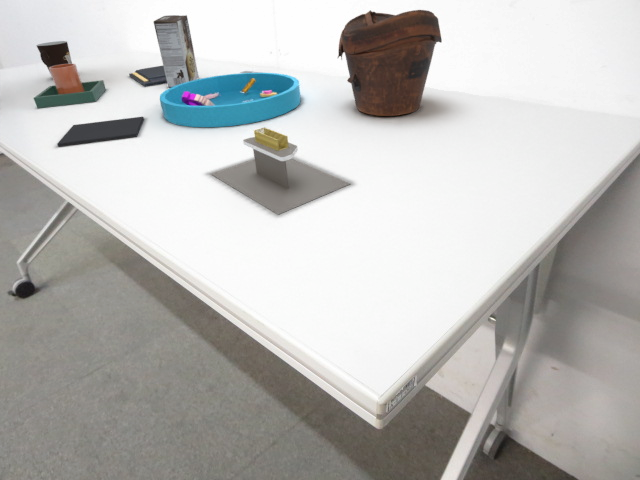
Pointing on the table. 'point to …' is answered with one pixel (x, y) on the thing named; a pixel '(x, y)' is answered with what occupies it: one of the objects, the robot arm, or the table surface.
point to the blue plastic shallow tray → (230, 99)
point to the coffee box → (176, 49)
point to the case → (389, 59)
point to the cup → (66, 78)
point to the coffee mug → (54, 53)
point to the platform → (277, 174)
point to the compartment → (70, 95)
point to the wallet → (150, 76)
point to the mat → (102, 131)
